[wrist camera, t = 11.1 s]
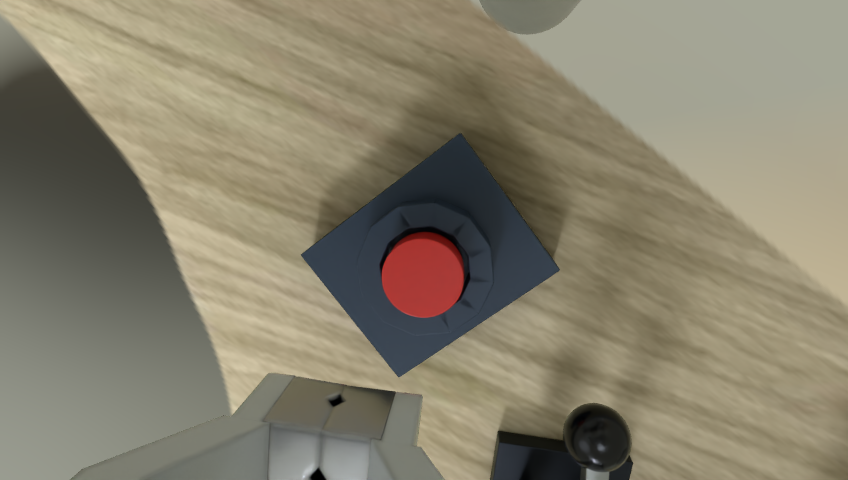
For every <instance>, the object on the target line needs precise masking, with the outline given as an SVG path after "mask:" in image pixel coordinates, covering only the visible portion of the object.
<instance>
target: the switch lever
mask: <svg viewBox="0 0 848 480" xmlns="http://www.w3.org/2000/svg"><path fill="white" fill-rule="evenodd" d="M563 440H564V444H565V447H566V449H567V451H568V453H569V455H570V456H571V458H572V459H573V460H574V461H575V462H576V463H577V464H578V465H580V466H581V474H580V480H609V472H611V471H613V470H615V469H617V468H619V467H620V466H621V465H622V464H623V463H624V462H625V461H626V460H627V458H628V456H629V454H630V450H631V444H632V443H631V434H630V430H629V428H628V425H627V424H626V422H625V420H624V419H623V418H622V417H621V416H620V415H619V414H618V413H617V412H616V411H615V410H613V409H612V408H610V407H608V406H606V405H603V404H598V403H588V404H584V405H581V406H579V407H577V408H576V409H574V410H573V411H572V412H571V413H570V414H569V416H568V417H567V419H566V421H565V424H564V428H563Z"/></svg>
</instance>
